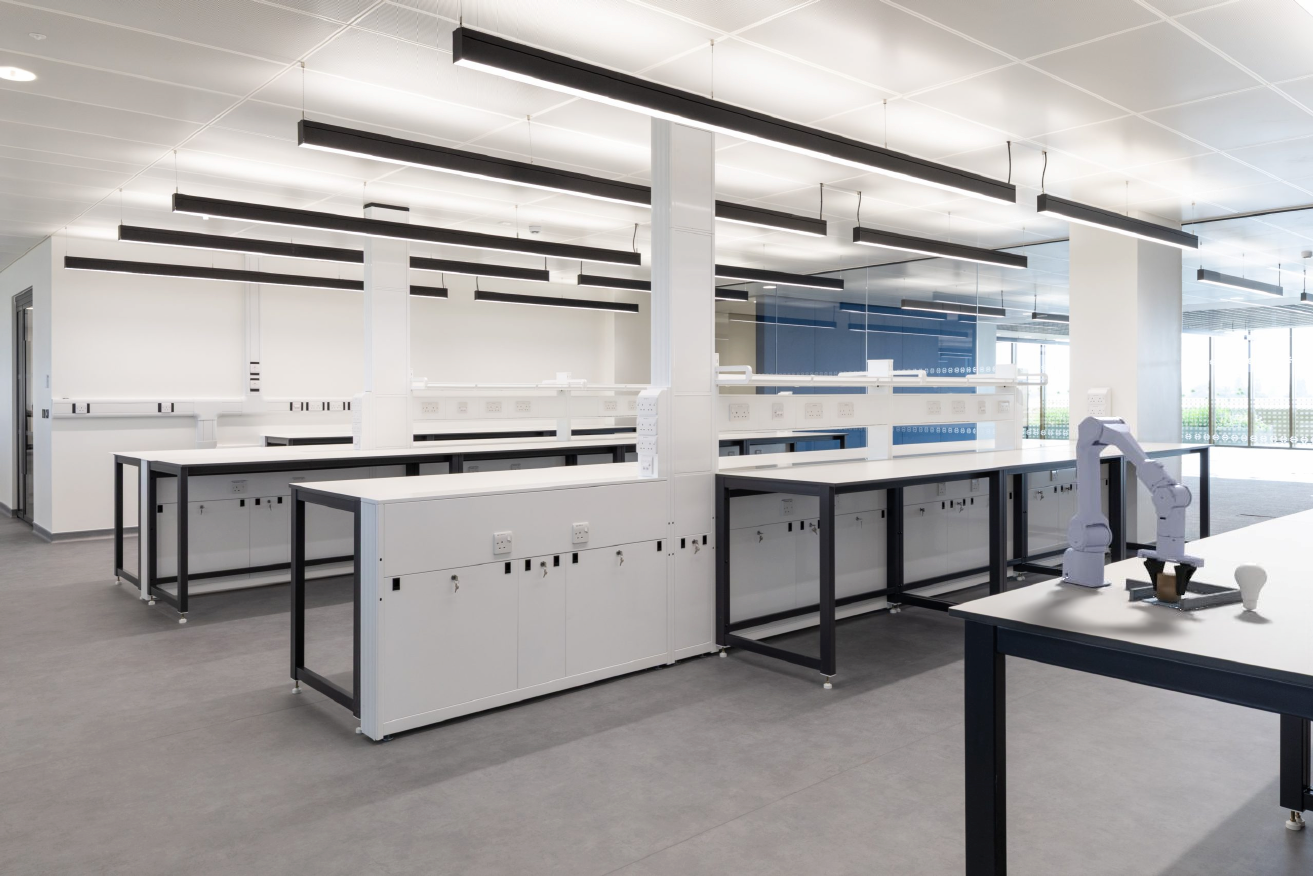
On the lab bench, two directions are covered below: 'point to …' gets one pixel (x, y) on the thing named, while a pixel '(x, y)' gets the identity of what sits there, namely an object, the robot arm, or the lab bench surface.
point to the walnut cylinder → (1167, 587)
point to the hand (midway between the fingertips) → (1169, 592)
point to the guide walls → (1214, 597)
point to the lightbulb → (1250, 583)
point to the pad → (1162, 602)
